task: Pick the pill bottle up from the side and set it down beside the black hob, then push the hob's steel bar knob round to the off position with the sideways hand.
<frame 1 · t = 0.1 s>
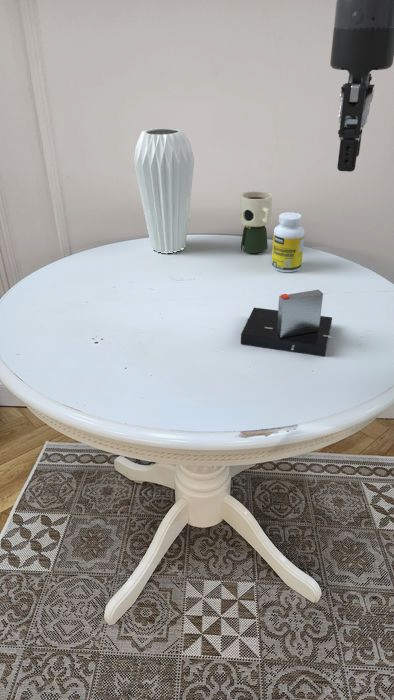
hand: (348, 163, 73), 30 cm above the table, tool pointing down, fingers open, 8 cm apart
vase: (168, 249, 128), on the table
hob: (286, 335, 92), on the table
hob knob: (299, 313, 87), point 6 cm above the table, hinge at 35.0°
character mug: (254, 251, 125), on the table
pill bottle: (286, 268, 117), on the table
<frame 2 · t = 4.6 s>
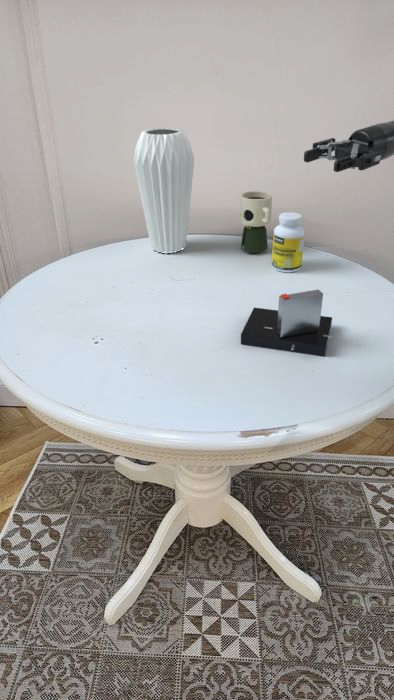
hand: (319, 161, 108), 21 cm above the table, tool horizontal, fingers open, 8 cm apart
nothing on the table moved.
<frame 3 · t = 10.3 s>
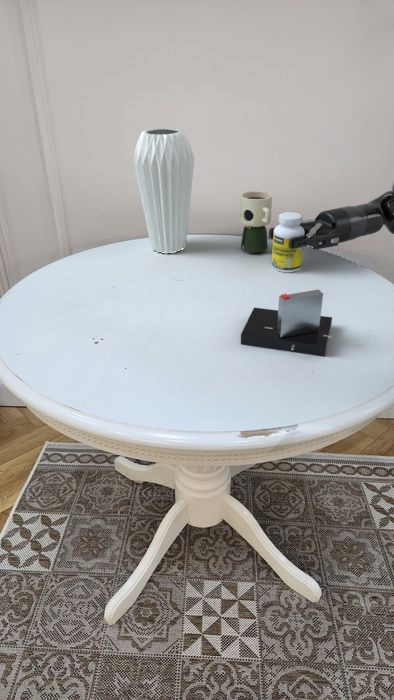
hand: (279, 238, 112), 7 cm above the table, tool horizontal, fingers closed on pill bottle, 6 cm apart
pill bottle: (286, 268, 117), on the table, touching gripper
everything else where it was.
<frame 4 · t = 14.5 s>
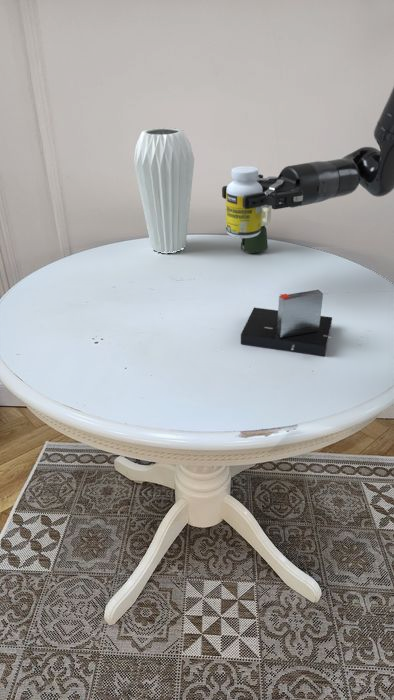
hand: (233, 197, 94), 20 cm above the table, tool horizontal, fingers closed on pill bottle, 6 cm apart
pill bottle: (243, 234, 99), point 12 cm above the table, touching gripper
everything else where it was.
when the fingers open (7 cm above the table, at t = 18.7 s): pill bottle stays where it is, on the table.
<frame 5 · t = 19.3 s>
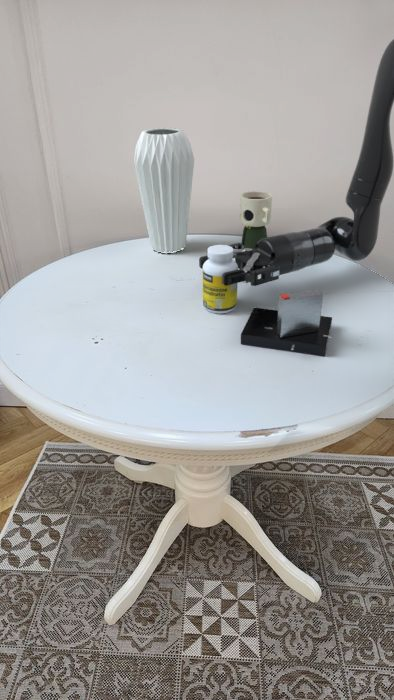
hand: (211, 271, 96), 8 cm above the table, tool horizontal, fingers open, 8 cm apart
pill bottle: (219, 307, 101), on the table
everything else where it was.
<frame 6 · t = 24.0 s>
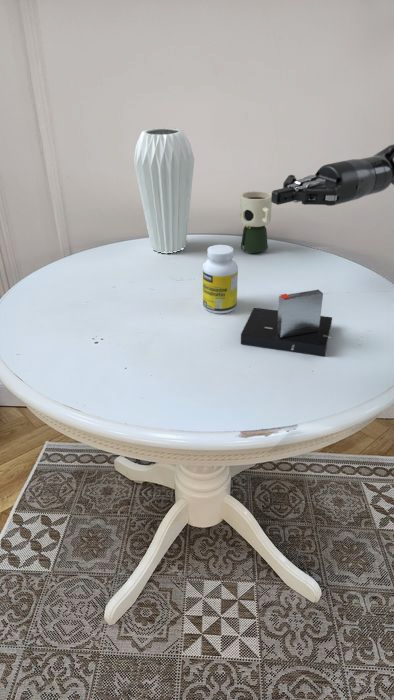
hand: (274, 198, 94), 20 cm above the table, tool horizontal, fingers closed
nothing on the table moved.
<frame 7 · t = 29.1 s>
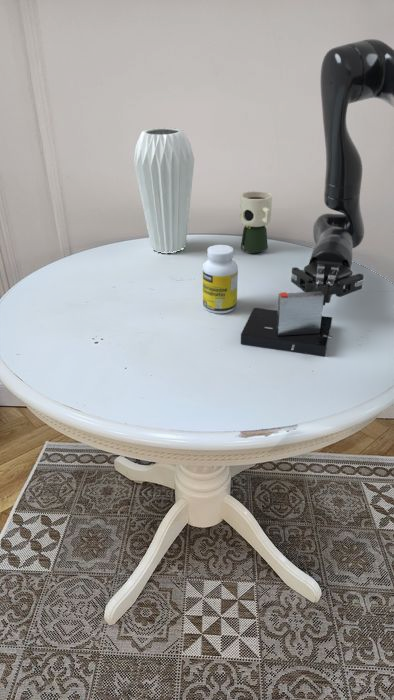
hand: (321, 300, 87), 7 cm above the table, tool horizontal, fingers closed
hob knob: (299, 313, 87), point 6 cm above the table, hinge at 22.5°, touching gripper
everything else where it was.
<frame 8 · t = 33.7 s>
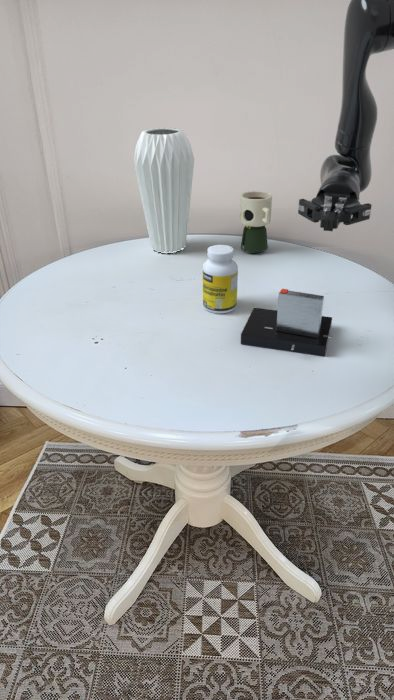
hand: (328, 225, 86), 18 cm above the table, tool horizontal, fingers closed
hob knob: (299, 313, 87), point 6 cm above the table, hinge at -5.0°
everything else where it was.
at the end: hob knob at -5° (first picture: +35°); pill bottle inside the target area (0.2 cm from its centre), on the table; pill bottle tilted 0° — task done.
